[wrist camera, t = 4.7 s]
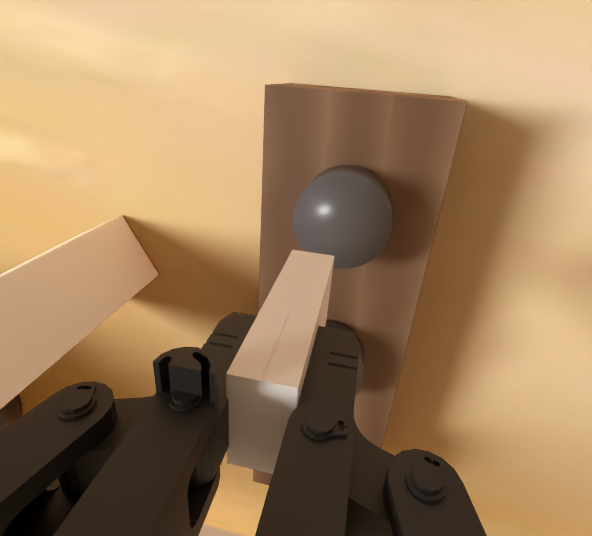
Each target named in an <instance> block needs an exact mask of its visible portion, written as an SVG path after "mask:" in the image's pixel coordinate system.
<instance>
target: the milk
mask: <svg viewBox="0 0 592 536" xmlns="http://www.w3.org/2000/svg"><path fill="white" fill-rule="evenodd" d="M157 276H158V272H157V271H156V269H155V268H154V266H153V264H152V263H151V261H150V260H149V258H148V256H147V255H146V253H145V251H144V250H143V248H142V247H141V245H140V243H139V242H138V240H137V239H136V237H135V235H134V234H133V232H132V230H131V229H130V227H129V226H128V224H127V222H126V221H125V219H124V218H123V216H122V215H120V216H118V217H116V218H114V219H112V220H110V221H107V222H105V223H103V224H101V225H99V226H97V227H95V228H93V229H91V230H88V231H86V232H84V233H82V234H80V235H78V236H76V237H74V238H72V239H70V240H68V241H66V242H64V243H62V244H60V245H58V246H56V247H54V248H52V249H50V250H48V251H46V252H44V253H42V254H40V255H38V256H36V257H34V258H32V259H30V260H28V261H26V262H24V263H22V264H20V265H18V266H16V267H14V268H12V269H10V270H8V271H6V272H4V273H2V274H0V409H1V408H2V407H4V406H5V405H6V404H7V403H8V402H10V401H11V400H12V399H13V398H14V397H15V396H17V395H18V394H19V393H20V392H21V391H22V390H24V389H25V388H26V387H27V386H28V385H30V384H31V383H32V382H33V381H34V380H35V379H37V378H38V377H39V376H40V375H41V374H42V373H44V372H45V371H46V370H47V369H48V368H50V367H51V366H52V365H53V364H54V363H55V362H57V361H58V360H59V359H60V358H61V357H62V356H64V355H65V354H66V353H67V352H68V351H70V350H71V349H72V348H73V347H74V346H75V345H77V344H78V343H79V342H80V341H81V340H82V339H84V338H85V337H86V336H87V335H88V334H90V333H91V332H92V331H93V330H94V329H95V328H97V327H98V326H99V325H100V324H101V323H102V322H104V321H105V320H106V319H107V318H108V317H110V316H111V315H112V314H113V313H114V312H115V311H117V310H118V309H119V308H120V307H121V306H122V305H124V304H125V303H126V302H127V301H128V300H130V299H131V298H132V297H133V296H134V295H135V294H137V293H138V292H139V291H140V290H141V289H142V288H144V287H145V286H146V285H147V284H148V283H150V282H151V281H152V280H153V279H154V278H155V277H157Z"/></svg>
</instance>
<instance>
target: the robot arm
mask: <svg viewBox="0 0 592 536" xmlns="http://www.w3.org/2000/svg"><path fill="white" fill-rule="evenodd" d="M333 264H334V256H332V255H325V254H319V253H312V252H305V251H298V250H292V251H291V253H290V255H289V257H288V259H287V261H286V263H285V265H284V266H283V268H282V270H281V272H280V274H279V276H278V278H277V280H276V281H275V283H274V285H273V287H272V289H271V291H270V293H269V295H268V296H267V298H266V300H265V302H264V304H263V306H262V308H261V310H260V311H259V313H258V315H257V316H253V315H247V314H241V313H236V312H233V313H231V314H230V315H228V316H227V317H225V318H224V319H222V320H220V322H219V323H218V325H217V326H216V328H215V329H214V331H213V334H211V335H210V337H209V338H208V340H207V342H206V343H205V344H204V346H203V347H202V349H200V348H197V347H182V348H176V349H172V350H170V351H167V352H165V353H163V354H161V355H160V356H159V357H158V358H156V359H155V360H154V361H153V366H154V374H155V383H156V391H157V392H156V394H155V395H154V396H150V397H143V398H129V399H114V396H113V392H112V390H111V389H110V388H109V387H108V386H106V385H105V384H101V383H97V382H82V383H78V384H75V385H71V386H68V387H66V388H64V389H62V390H61V391H59V392H57V393H55V394H54V395H52V396H51V397H49V398H48V399H46V400H45V401H44V402H42V403H41V404H39V405H38V406H36V407H35V408H33V409H32V410H31V411H29V412H28V413H26V414H25V415H23V416H22V417H21V406H20V402H19V399H18V397H17V396H15V397H14V398H13V399H12V400H11V401H10V402H8V403H7V404H6V405H5V406H4V407H2V408H1V409H0V536H198V535H199V533H200V530H201V528H202V525H203V523H204V520H205V518H206V515H207V513H208V510H209V508H210V505H211V503H212V500H213V498H214V495H215V493H216V490H217V488H218V485H219V479H220V465H221V463H222V460H223V458H224V455H225V453H226V451H227V463H229V464H233V465H238V466H242V467H246V468H250V469H255V470H259V471H263V472H267V473H272V474H273V475H272V478H271V482H270V485H269V489H268V492H267V496H266V499H265V503H264V507H263V510H262V514H261V517H260V521H259V524H258V528H257V531H256V535H255V536H487V535H486V533H485V531H484V529H483V526H482V524H481V522H480V520H479V518H478V515H477V513H476V511H475V509H474V506H473V504H472V502H471V500H470V497H469V495H468V493H467V491H466V488H465V486H464V484H463V482H462V480H461V479H460V477H459V476H458V474H457V473H456V471H455V469H454V468H452V467H451V466H450V465H449V464H448V463H447V462H446V461H445V460H443V459H442V458H440V457H438V456H436V455H434V454H432V453H430V452H428V451H423V450H417V449H411V450H406V451H402V452H400V453H399V454H397V455H396V456H394V455H392V454H390V453H388V452H386V451H384V450H382V449H380V448H379V447H377V446H375V445H374V444H372V443H371V442H369V441H368V440H367V439H366V438H365V437H364V436H363V435H362V433H361V432H360V431H359V429H358V428H357V425H356V423H355V420H354V403H355V391H356V380H357V368H358V357H359V346H360V344H359V342H358V340H357V338H356V336H355V334H354V332H351V331H346V330H340V329H334V328H328V327H325V324H326V319H327V311H328V303H329V296H330V288H331V280H332V272H333Z"/></svg>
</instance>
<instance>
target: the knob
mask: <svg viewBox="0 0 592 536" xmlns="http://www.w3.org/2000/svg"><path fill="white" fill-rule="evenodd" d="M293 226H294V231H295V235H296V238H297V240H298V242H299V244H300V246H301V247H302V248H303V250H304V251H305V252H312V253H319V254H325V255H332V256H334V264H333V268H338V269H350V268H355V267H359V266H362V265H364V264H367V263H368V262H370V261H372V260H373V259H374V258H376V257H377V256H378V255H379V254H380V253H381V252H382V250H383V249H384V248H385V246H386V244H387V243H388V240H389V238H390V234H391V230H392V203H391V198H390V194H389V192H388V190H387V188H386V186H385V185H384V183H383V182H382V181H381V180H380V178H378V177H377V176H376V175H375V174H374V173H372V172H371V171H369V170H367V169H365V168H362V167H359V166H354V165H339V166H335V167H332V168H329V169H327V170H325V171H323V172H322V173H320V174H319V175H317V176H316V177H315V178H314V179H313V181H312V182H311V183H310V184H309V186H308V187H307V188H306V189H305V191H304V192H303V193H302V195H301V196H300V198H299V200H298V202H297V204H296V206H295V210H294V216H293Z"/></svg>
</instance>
